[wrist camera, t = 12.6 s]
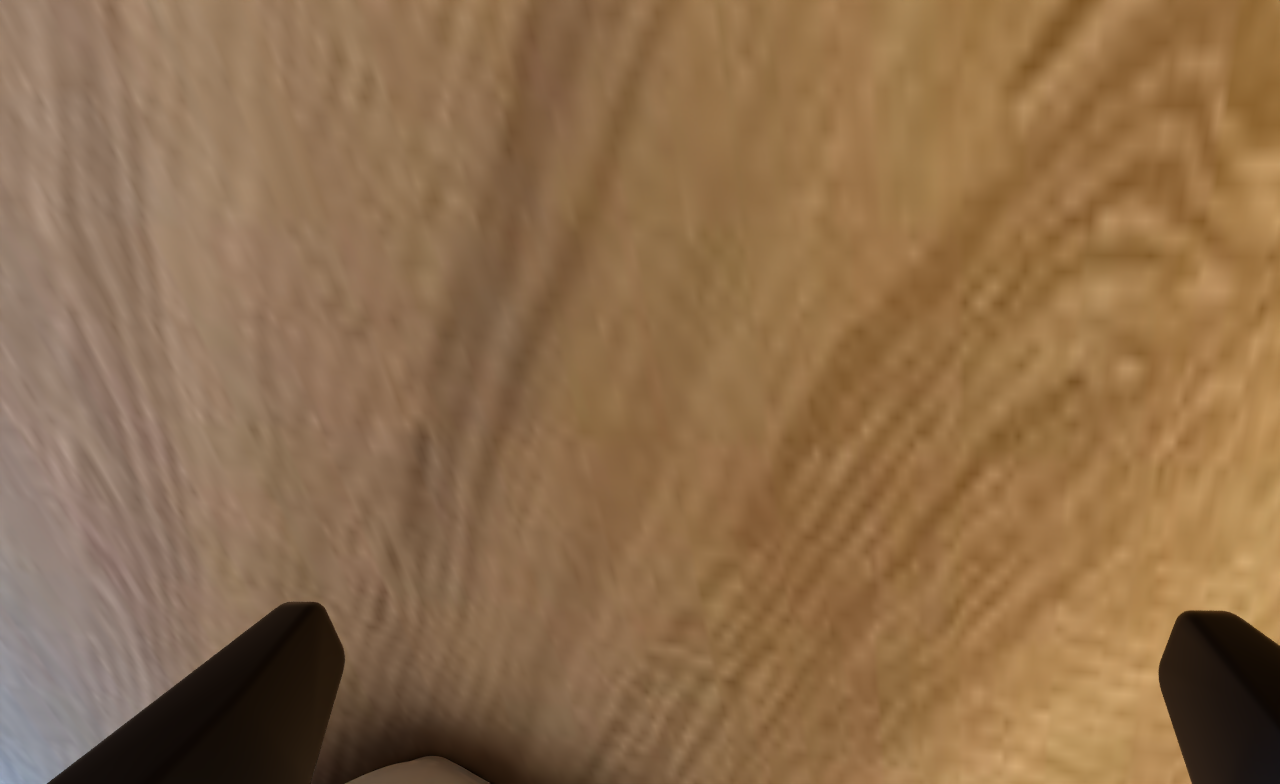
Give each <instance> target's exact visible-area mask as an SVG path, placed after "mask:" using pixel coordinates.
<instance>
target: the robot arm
mask: <svg viewBox="0 0 1280 784" xmlns="http://www.w3.org/2000/svg"><path fill="white" fill-rule="evenodd" d="M344 663H345V654H344V649H343V646H342V644H341V641H340V639H339V637H338V635H337V633H336V631H335V628H334V626H333V624H332V622H331V620H330V618H329V616H328V613H327V611H326V609H325V608H324V607H323V606H322V605H321V604H319V603H317V602H287V603H284V604H282V605H280V606H278V607H277V608H275V609H274V610H273V611H271V612H270V613H269V614H268V615H266V616H265V617H264V618H262V619H261V620H260V621H258V622H257V623H256V624H254V625H253V626H252V627H251V628H249V629H248V630H247V631H245V632H244V633H243V634H241V635H240V636H239V637H238V638H236V639H235V640H234V641H232V642H231V643H230V644H228V645H227V646H226V647H224V648H223V649H222V650H221V651H219V652H218V653H217V654H215V655H214V656H213V657H211V658H210V659H209V660H208V661H206V662H205V663H204V664H202V665H201V666H200V667H198V668H197V669H196V670H194V671H193V672H192V673H191V674H189V675H188V676H187V677H185V678H184V679H183V680H181V681H180V682H179V683H178V684H176V685H175V686H174V687H172V688H171V689H170V690H168V691H167V692H166V693H164V694H163V695H162V696H161V697H159V698H158V699H157V700H155V701H154V702H153V703H151V704H150V705H149V706H147V707H146V708H145V709H144V710H142V711H141V712H140V713H138V714H137V715H136V716H134V717H133V718H132V719H131V720H129V721H128V722H127V723H125V724H124V725H123V726H121V727H120V728H119V729H117V730H116V731H115V732H114V733H112V734H111V735H110V736H108V737H107V738H106V739H104V740H103V741H102V742H101V743H99V744H98V745H97V746H95V747H94V748H93V749H91V750H90V751H89V752H87V753H86V754H85V755H84V756H82V757H81V758H80V759H78V760H77V761H76V762H74V763H73V764H72V765H71V766H69V767H68V768H67V769H65V770H64V771H63V772H61V773H60V774H59V775H57V776H56V777H55V778H54V779H52V780H51V781H50V782H48V783H47V784H310V783H311V780H312V776H313V773H314V769H315V766H316V763H317V759H318V756H319V752H320V749H321V745H322V742H323V739H324V735H325V732H326V728H327V725H328V722H329V718H330V715H331V711H332V708H333V704H334V701H335V698H336V694H337V691H338V687H339V684H340V681H341V677H342V674H343V670H344ZM1159 682H1160V687H1161V691H1162V694H1163V697H1164V700H1165V703H1166V706H1167V709H1168V712H1169V715H1170V718H1171V721H1172V725H1173V728H1174V731H1175V734H1176V737H1177V740H1178V743H1179V746H1180V749H1181V752H1182V755H1183V758H1184V761H1185V764H1186V767H1187V770H1188V773H1189V776H1190V779H1191V782H1192V784H1280V646H1279V645H1278V644H1277V643H1275V642H1274V641H1272V640H1271V639H1270V638H1268V637H1267V636H1265V635H1264V634H1263V633H1261V632H1260V631H1258V630H1257V629H1256V628H1254V627H1253V626H1252V625H1250V624H1249V623H1247V622H1246V621H1245V620H1243V619H1242V618H1240V617H1238V616H1237V615H1235V614H1233V613H1230V612H1226V611H1185V612H1183V613H1182V614H1181V615H1179V616H1178V618H1177V620H1176V622H1175V624H1174V627H1173V629H1172V632H1171V635H1170V637H1169V640H1168V643H1167V645H1166V648H1165V651H1164V653H1163V656H1162V658H1161V661H1160V665H1159Z"/></svg>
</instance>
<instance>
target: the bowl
mask: <svg viewBox="0 0 1280 784" xmlns="http://www.w3.org/2000/svg"><path fill="white" fill-rule="evenodd" d="M345 784H490V783H489V782H487V781H486V780H484V779H482V778H480V777H478V776H477V775H475V774H473V773H471V772H470V771H468V770H466V769H465V768H463V767H461V766H459V765H457V764H455V763H453V762H451V761H449V760H448V759H446V758H444V757H438V756H425V757H422V758H418V759H415V760H413V761H408V762H403V763H397V764H393V765H390V766H387V767H383V768H380V769H378V770H375V771H373V772H370V773H367V774H365V775H362V776H360V777H358V778H356V779H354V780H352V781H349V782H347V783H345Z"/></svg>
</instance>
